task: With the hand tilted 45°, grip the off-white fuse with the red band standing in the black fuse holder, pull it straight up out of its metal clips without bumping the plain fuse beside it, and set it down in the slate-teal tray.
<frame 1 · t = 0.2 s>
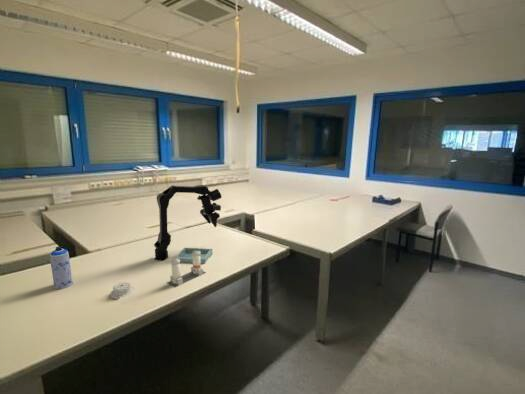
hand: (212, 225, 188), 15 cm above the table, tool pointing down, fingers open, 9 cm apart
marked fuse: (197, 272, 152), point 1 cm above the table, touching fuse holder
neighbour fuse: (176, 282, 142), point 1 cm above the table, touching fuse holder
tray: (194, 258, 172), on the table
fuse holder: (187, 279, 147), on the table
aerosol can: (63, 285, 140), on the table
mechanical component: (122, 294, 133), on the table
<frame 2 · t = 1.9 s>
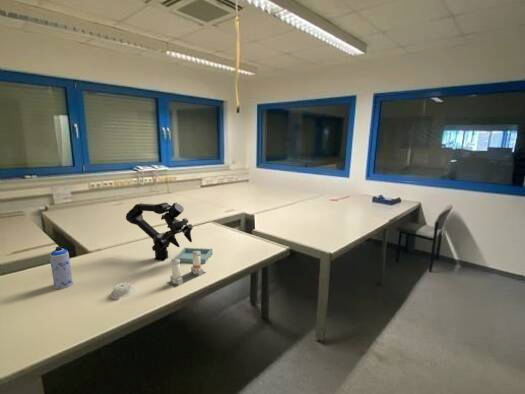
hand: (185, 244, 160), 13 cm above the table, tool tilted 40°, fingers open, 9 cm apart
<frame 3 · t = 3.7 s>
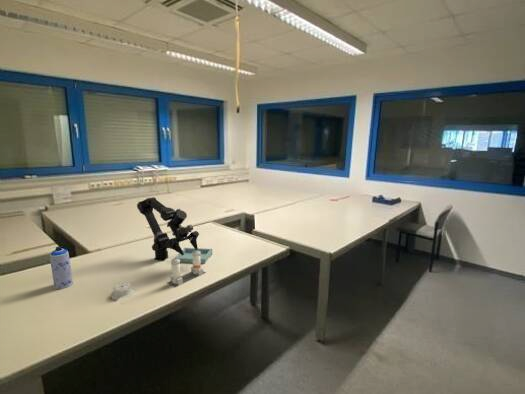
hand: (190, 252, 153), 12 cm above the table, tool tilted 45°, fingers open, 9 cm apart
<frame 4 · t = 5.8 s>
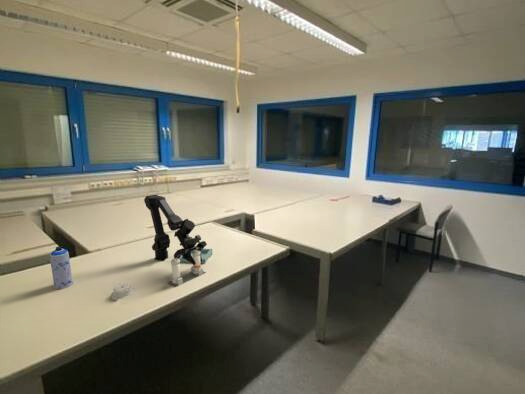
hand: (198, 263, 150), 7 cm above the table, tool tilted 45°, fingers closed on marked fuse, 4 cm apart
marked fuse: (197, 272, 152), point 1 cm above the table, touching fuse holder, gripper
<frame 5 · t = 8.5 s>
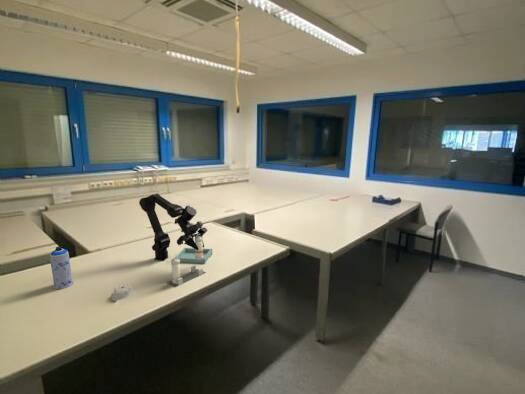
hand: (200, 248, 153), 14 cm above the table, tool tilted 45°, fingers closed on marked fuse, 4 cm apart
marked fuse: (199, 258, 155), point 8 cm above the table, touching gripper
when the fingers open (9 cm above the table, at t = 11.2 s): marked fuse drops 1 cm, resting on tray.
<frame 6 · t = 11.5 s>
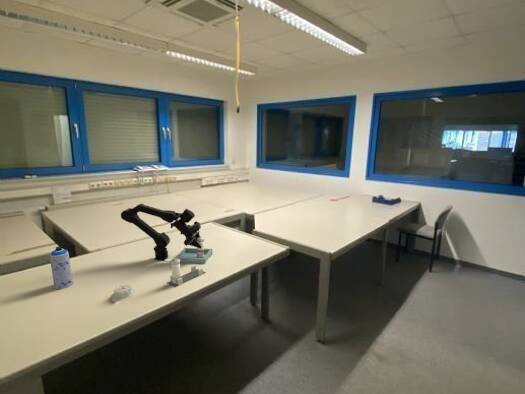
hand: (202, 245, 171), 9 cm above the table, tool tilted 45°, fingers open, 7 cm apart
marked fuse: (200, 256, 172), point 1 cm above the table, touching tray
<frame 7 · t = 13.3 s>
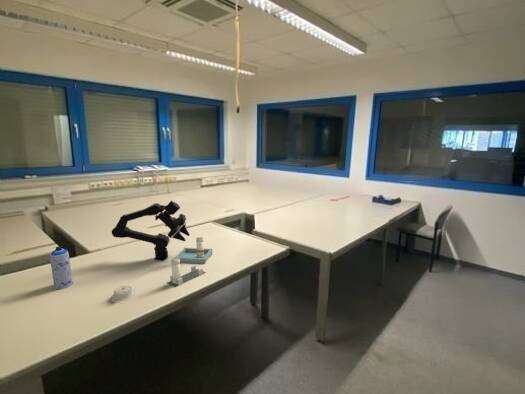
hand: (187, 238, 170), 13 cm above the table, tool tilted 45°, fingers open, 9 cm apart
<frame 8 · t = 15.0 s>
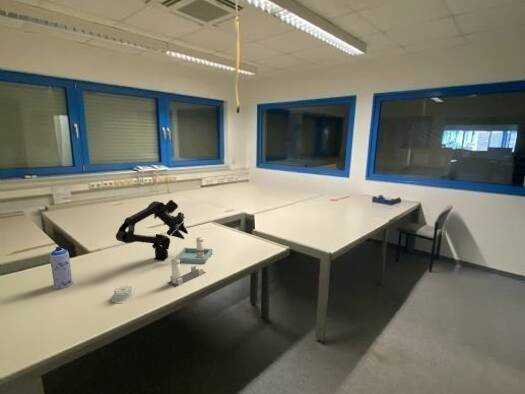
hand: (185, 235, 172), 14 cm above the table, tool tilted 45°, fingers open, 9 cm apart
at the end: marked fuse inside the target area on the tray (3.5 cm from its centre), point 1.0 cm above the tray's base; the gripper is holding nothing; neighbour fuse moved 0.0 cm from its start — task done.
